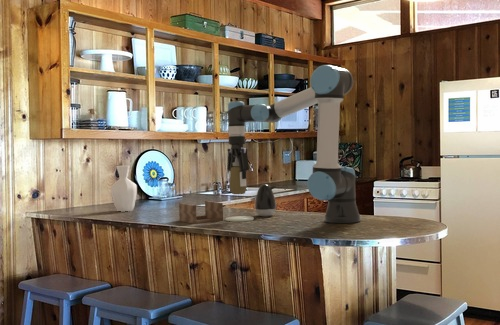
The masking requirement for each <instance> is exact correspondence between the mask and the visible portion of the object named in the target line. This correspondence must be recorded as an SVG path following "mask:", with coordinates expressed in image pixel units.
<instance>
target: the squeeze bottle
mask: <svg viewBox="0 0 500 325" xmlns="http://www.w3.org/2000/svg"><path fill="white" fill-rule="evenodd" d="M233 166H234V167H232V168H231V171H229V189H230V192H231V194H232V195H244V194H246V191H247V187H248V181H247V179H246V186H240V170H241V169H240V165H239V161H238V158H237V157H236V158H235V162H234V163H233Z"/></svg>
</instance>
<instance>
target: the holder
mask: <svg viewBox="0 0 500 325" xmlns="http://www.w3.org/2000/svg"><path fill="white" fill-rule="evenodd" d="M223 205H224V204H223V202H218V201H210V200H204V212H205V214H204V215H197V205H195V204H189V203H184V202H182V203H181V202H180V203H178V211H179V214H178V215H179V221H181V222H184V223H189V224H193V225H194V224H202V223H203V224H204V223H213V222H220V221H221V222H222V221H224V209H223V208H224V207H223Z"/></svg>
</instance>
